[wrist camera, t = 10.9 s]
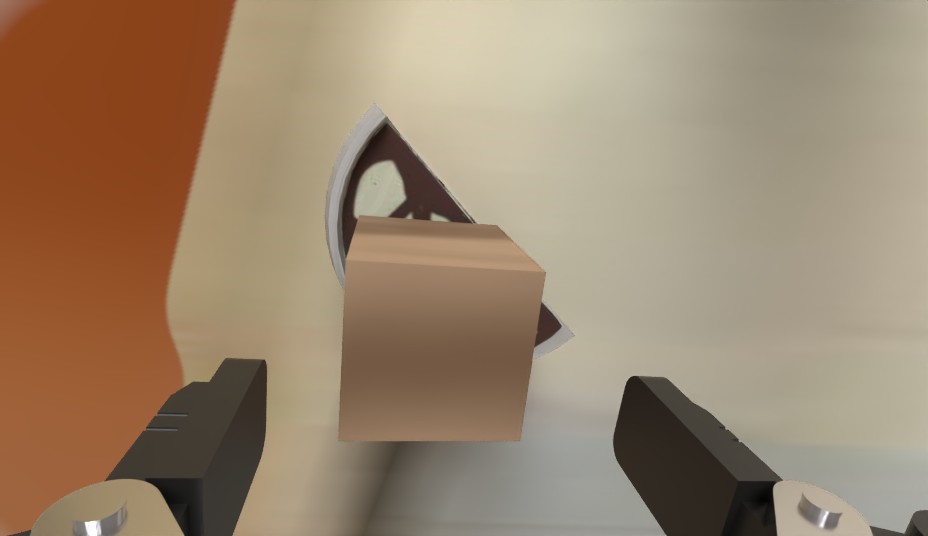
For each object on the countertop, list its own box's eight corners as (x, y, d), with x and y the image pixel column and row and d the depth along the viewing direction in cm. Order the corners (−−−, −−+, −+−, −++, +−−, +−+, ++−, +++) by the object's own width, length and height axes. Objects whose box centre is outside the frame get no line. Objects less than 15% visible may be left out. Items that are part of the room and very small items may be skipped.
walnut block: (359, 215, 18) (345, 260, 12) (496, 225, 18) (545, 272, 13) (352, 345, 19) (338, 441, 13) (481, 348, 20) (519, 441, 14)
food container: (292, 186, 26) (240, 222, 17) (378, 108, 26) (373, 100, 17) (442, 338, 30) (469, 438, 21) (519, 273, 30) (582, 344, 20)
